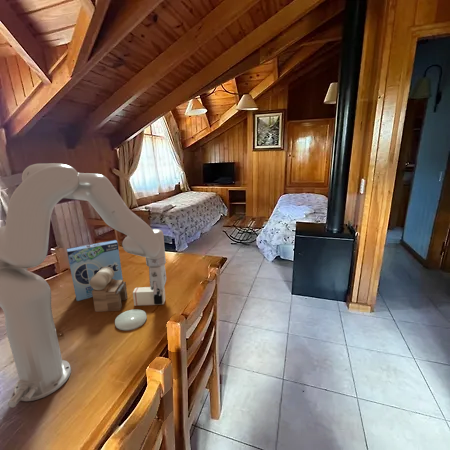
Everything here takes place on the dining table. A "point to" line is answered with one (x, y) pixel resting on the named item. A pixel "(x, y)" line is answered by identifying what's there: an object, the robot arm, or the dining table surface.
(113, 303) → the dispenser
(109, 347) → the dining table surface
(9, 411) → the dining table surface
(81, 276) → the gum box
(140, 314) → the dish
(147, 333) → the dining table surface
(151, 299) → the white box
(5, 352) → the dining table surface
